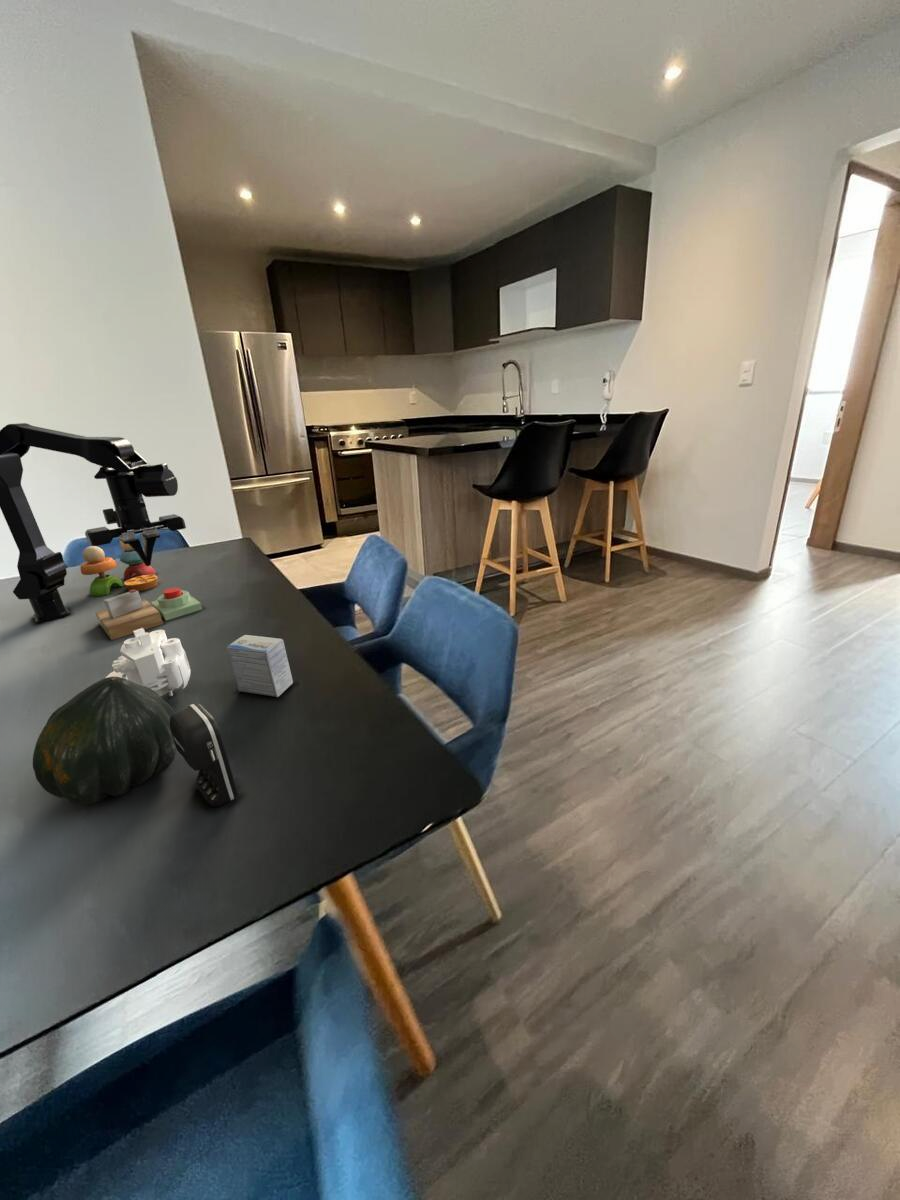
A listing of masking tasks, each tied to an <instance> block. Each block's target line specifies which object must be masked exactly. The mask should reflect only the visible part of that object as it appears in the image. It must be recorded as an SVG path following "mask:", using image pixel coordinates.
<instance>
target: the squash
mask: <svg viewBox="0 0 900 1200" xmlns="http://www.w3.org/2000/svg"><path fill="white" fill-rule="evenodd" d="M174 713H176V712H175V711H174V709H173V707H172V706H171V705H170V704H169V703H168V701H165V700H164V699H163V698H162V696H161V697H160V696H159V695H158V694H157V693H156V692H155V691H154V690H152V689H150V688H148V687H146V686H144V685H142V684H139V683H135V682H133V681H130V680H127V679H124V678H120V677H108V678H106V677H105V678H101V679H100V680H98V681H96V682H94V683H93V684H91V685H90V686H88V687H86V688H85V689H83V690H81V691H80V692H78V693H77V694H76V695H74V696H73V697H72V698H71V699H69V700H68V701H66V702H65V703H64V704H62V705H60V706H59V707H58V708H56V710H55V711H53V712H52V713H51V715H50V716H49V717H48V719H47V721H46V723H45V725H44V727H43V728H42V730H41V732H40V733H39V735H38V738H37V740H36V742H35V746H34V751H33V755H32V769H33V772H34V776H35V778H36V781H37V782H38V784H39V785H40V786H41V787H42V789H43V790H44V791H45V792H46V793H48V794H50V795H52V796H54V797H57V798H59V799H65V800H67V801H69V802H70V803H72V804H74V805H79V806H85V805H86V806H87V805H93V804H96V803H99V802H100V801H102V800H103V799H105V798H106V797H107V796H108V795H109V796H114V797H118V796H121V795H124V794H126V793H127V792H128V791H129V790H130V788H131V786H140V785H141V784H144V783H145V782H147V780H148V779H149V778H150V777H151V778H152V777H154V776H157V775H159V774H161V773H162V772H164V771H166V770H167V769H168V768H169V767H170V766H171V765H172V763H173V762H174V760H175V758H176V752H177V748H176V746H175V743H174V739H173V736H172V732H171V728H170V718H171V716H172V715H173V714H174Z"/></svg>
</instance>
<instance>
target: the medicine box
mask: <svg viewBox="0 0 900 1200" xmlns="http://www.w3.org/2000/svg"><path fill="white" fill-rule="evenodd" d="M226 649H227V653H228V657H229V660H230V664H231V667H232V671H233V675H234V678H235V683H236V686H237V690H238V692H241V693H242V692H243V693H249V694H256V695H263V696H269V697H274V698H279V697H280V696H281V695H283V693H284V692H285V691H286V690H287V689H288V688H290V687H291V686H292V685H293V684H294V680H293V676H292V672H291V668H290V664H289V659H288V655H287V651H286V646H285V642H284V640H283V638H277V637H276V638H275V637H268V636H259V635H249V634H244V635H242V636H240V637H239V638H237V639H236V640H234V641H233V642H231V643H230V644H229V645H227V647H226Z"/></svg>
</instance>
